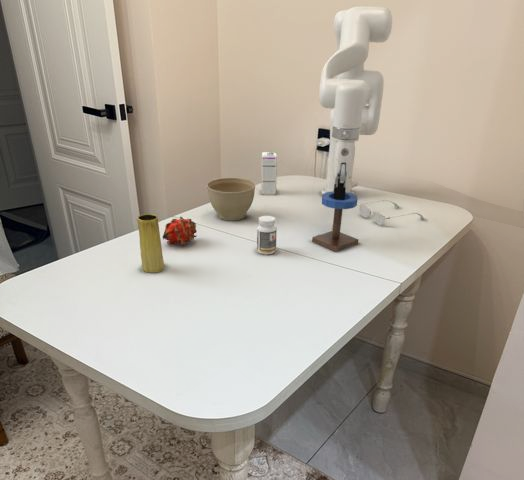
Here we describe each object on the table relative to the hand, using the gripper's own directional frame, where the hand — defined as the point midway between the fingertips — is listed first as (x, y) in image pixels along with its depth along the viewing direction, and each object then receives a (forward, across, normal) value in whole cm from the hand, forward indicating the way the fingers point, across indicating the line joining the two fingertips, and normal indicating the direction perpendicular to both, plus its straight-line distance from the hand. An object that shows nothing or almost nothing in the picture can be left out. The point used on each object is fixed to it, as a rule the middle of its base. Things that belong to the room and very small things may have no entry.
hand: (338, 198), depth 149 cm
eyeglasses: (+13, +22, -20) cm, 33 cm away
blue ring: (0, -4, 0) cm, 4 cm away
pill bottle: (+12, -14, +20) cm, 28 cm away
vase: (+12, -29, +50) cm, 59 cm away
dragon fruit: (+12, -11, +47) cm, 50 cm away
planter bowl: (+13, +15, +35) cm, 40 cm away
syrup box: (+13, +44, +24) cm, 52 cm away
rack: (+12, -4, 0) cm, 13 cm away
